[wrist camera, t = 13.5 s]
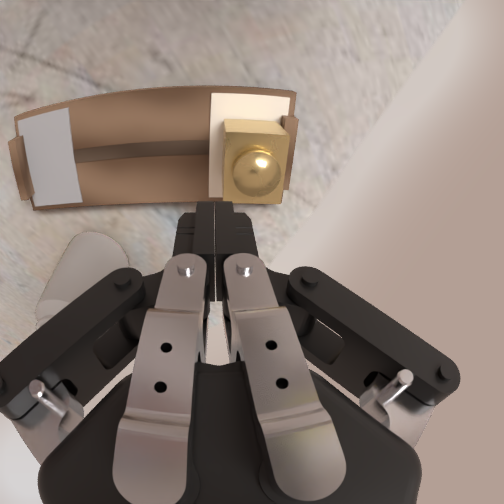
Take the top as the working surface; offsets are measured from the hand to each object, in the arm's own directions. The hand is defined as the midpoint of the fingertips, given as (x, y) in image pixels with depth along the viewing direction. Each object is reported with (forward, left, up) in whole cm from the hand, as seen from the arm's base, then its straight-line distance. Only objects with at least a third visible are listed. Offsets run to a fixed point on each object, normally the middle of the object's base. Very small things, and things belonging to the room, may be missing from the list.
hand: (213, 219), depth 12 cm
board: (0, -6, -13) cm, 15 cm away
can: (+12, -13, -13) cm, 22 cm away
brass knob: (0, +3, -11) cm, 11 cm away
